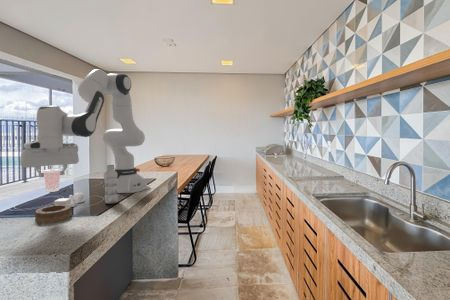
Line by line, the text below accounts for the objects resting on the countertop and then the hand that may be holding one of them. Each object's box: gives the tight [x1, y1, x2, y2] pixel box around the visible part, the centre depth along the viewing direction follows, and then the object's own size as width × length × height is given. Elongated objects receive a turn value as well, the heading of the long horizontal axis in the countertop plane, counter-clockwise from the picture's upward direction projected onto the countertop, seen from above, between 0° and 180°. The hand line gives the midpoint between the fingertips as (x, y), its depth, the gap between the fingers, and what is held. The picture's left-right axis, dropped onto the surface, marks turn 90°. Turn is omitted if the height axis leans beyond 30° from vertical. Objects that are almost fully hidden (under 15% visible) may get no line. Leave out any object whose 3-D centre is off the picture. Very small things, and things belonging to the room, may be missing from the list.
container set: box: [53, 191, 86, 208], centre depth 123 cm, size 20×5×6 cm, turn 5°
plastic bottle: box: [103, 164, 119, 205], centre depth 126 cm, size 6×7×20 cm
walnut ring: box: [34, 204, 73, 224], centre depth 106 cm, size 12×12×4 cm
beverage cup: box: [42, 166, 61, 193], centre depth 104 cm, size 6×6×14 cm
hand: (52, 176), depth 104 cm, fingers closed on beverage cup, 6 cm apart
